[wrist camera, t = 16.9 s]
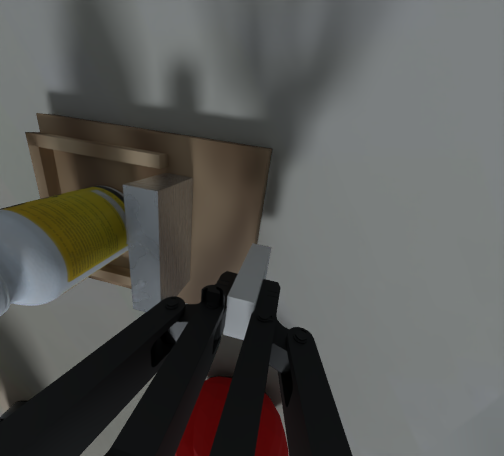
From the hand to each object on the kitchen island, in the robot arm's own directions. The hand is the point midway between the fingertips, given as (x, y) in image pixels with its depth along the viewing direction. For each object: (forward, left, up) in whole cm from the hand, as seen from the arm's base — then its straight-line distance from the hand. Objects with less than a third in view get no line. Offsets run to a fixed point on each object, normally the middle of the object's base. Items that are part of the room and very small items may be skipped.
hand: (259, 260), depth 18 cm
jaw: (-8, 0, -2) cm, 8 cm away
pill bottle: (-14, 0, -2) cm, 14 cm away
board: (-11, 0, -3) cm, 11 cm away
